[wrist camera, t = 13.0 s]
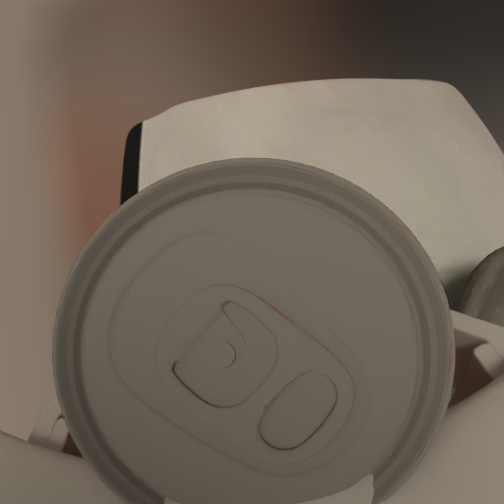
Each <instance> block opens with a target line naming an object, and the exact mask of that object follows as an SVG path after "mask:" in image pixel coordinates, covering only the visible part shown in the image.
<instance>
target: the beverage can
mask: <svg viewBox="0 0 504 504" xmlns="http://www.w3.org/2000/svg"><path fill="white" fill-rule="evenodd" d="M52 343H53V344H52V365H53V375H54V382H55V388H56V393H57V397H58V401H59V405H60V408H61V411H62V414H63V417H64V420H65V423H66V425H67V428H68V430H69V432H70V434H71V436H72V438H73V440H74V442H75V444H76V446H77V447H78V449H79V451H80V453H81V454H82V456H83V457H84V459H85V460H86V462H87V463H88V465H89V466H90V467H91V468H92V470H93V471H94V472H95V474H96V475H97V476H98V477H99V479H100V480H101V481H102V482H103V483H104V484H105V485H106V486H107V487H108V488H109V489H110V490H111V491H112V492H113V493H114V494H115V495H116V496H117V497H118V498H120V499H121V500H122V501H123V502H124V503H125V504H164V499H165V498H166V497H167V498H170V499H172V500H174V501H176V502H178V503H180V504H298V503H303V502H308V501H312V500H316V499H321V498H324V497H328V496H331V495H334V494H337V493H339V492H342V491H344V490H347V489H348V488H350V487H352V486H353V485H354V484H356V483H357V482H358V481H359V480H361V479H362V478H363V477H364V476H366V475H368V474H373V487H374V494H373V499H372V502H371V504H380V503H383V502H384V501H386V500H387V499H388V498H390V497H391V496H392V495H393V494H394V493H395V492H396V491H397V490H398V489H399V488H400V487H401V486H402V485H403V484H404V483H405V482H406V481H407V480H408V478H409V477H410V476H411V475H412V473H413V472H414V471H415V470H416V468H417V467H418V466H419V464H420V463H421V462H422V460H423V459H424V457H425V455H426V454H427V452H428V451H429V449H430V447H431V445H432V443H433V442H434V440H435V438H436V436H437V434H438V432H439V429H440V427H441V424H442V422H443V419H444V416H445V414H446V410H447V407H448V403H449V400H450V396H451V391H452V385H453V379H454V370H455V336H454V328H453V321H452V316H451V312H450V307H449V303H448V300H447V297H446V294H445V291H444V288H443V285H442V283H441V280H440V278H439V276H438V273H437V271H436V269H435V267H434V265H433V263H432V262H431V260H430V258H429V256H428V255H427V253H426V251H425V250H424V248H423V247H422V245H421V244H420V242H419V241H418V240H417V238H416V237H415V236H414V234H413V233H412V232H411V231H410V230H409V228H408V227H407V226H406V225H405V224H404V223H403V222H402V221H401V220H400V219H399V218H398V217H397V216H396V215H395V214H394V213H393V212H392V211H391V210H390V209H389V208H388V207H386V206H385V205H384V204H383V203H382V202H380V201H379V200H378V199H376V198H375V197H374V196H372V195H371V194H369V193H368V192H366V191H365V190H363V189H362V188H360V187H358V186H357V185H355V184H353V183H351V182H350V181H348V180H346V179H343V178H341V177H339V176H337V175H335V174H333V173H330V172H327V171H324V170H322V169H319V168H316V167H313V166H309V165H305V164H302V163H297V162H292V161H287V160H280V159H270V158H236V159H227V160H219V161H214V162H209V163H205V164H201V165H197V166H194V167H190V168H187V169H184V170H182V171H179V172H177V173H174V174H172V175H169V176H167V177H165V178H163V179H161V180H159V181H157V182H155V183H153V184H151V185H150V186H148V187H147V188H145V189H143V190H142V191H140V192H139V193H137V194H136V195H134V196H133V197H131V198H130V199H128V200H127V201H126V202H125V203H124V204H123V205H121V206H120V207H119V208H118V209H117V210H116V211H115V212H114V213H113V214H112V215H111V216H109V217H108V218H107V219H106V220H105V221H104V222H103V224H102V225H101V226H100V227H99V228H98V229H97V231H96V232H95V233H94V234H93V236H92V237H91V238H90V240H89V241H88V243H86V245H85V247H84V248H83V250H82V251H81V253H80V255H79V256H78V258H77V260H76V262H75V263H74V265H73V267H72V269H71V271H70V273H69V275H68V278H67V281H66V283H65V286H64V288H63V291H62V294H61V297H60V300H59V304H58V308H57V312H56V318H55V323H54V329H53V342H52Z"/></svg>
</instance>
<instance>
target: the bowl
mask: <svg viewBox="0 0 504 504" xmlns="http://www.w3.org/2000/svg"><path fill="white" fill-rule="evenodd" d="M450 310H454V311H457V312H460V313H463V314H466V315H469V316H472V317H475V318H478V319H481V320H484V321H487V322H490V323H493V324H496V325H499V326H502V327H504V247H502V248H499V249H497V250H495V251H494V252H492V253H491V254H489V255H488V256H487V257H486V258H485V259H483V260H482V261H481V262H480V263H479V264H478V265H477V266H476V268H475V269H474V270H473V271H472V272H471V273H470V275H469V276H468V277H467V278H466V280H465V281H464V283H463V284H462V286H461V287H460V289H459V290H458V292H457V294H456V296H455V298H454V299H453V301H452V304H451V306H450ZM455 390H456V389H454V388H452V391H451V396H450V400H451V398H452V396H453V394H454V392H455ZM450 400H449V402H450ZM448 404H449V403H448ZM447 408H449V407H447Z"/></svg>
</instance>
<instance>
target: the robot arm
mask: <svg viewBox="0 0 504 504" xmlns="http://www.w3.org/2000/svg"><path fill="white" fill-rule="evenodd" d="M450 312H451V316H452V321H453V328H454V336H455V370H454V379H453V385H452V388H454V389H456V390H455V392H454V394H453V396H452V398H451V400H450V402H449V404H448V407H449V408H447V410H446V414H445V416H444V419H443V422H442V424H441V427H440V429H439V432H438V434H437V436H436V438H435V440H434V442H433V443H432V445H431V447H430V449H429V451H428V452H427V454H426V455H425V457H424V459H423V460H422V462H421V463H420V464H419V466H418V467H417V468H416V470H415V471H414V472H413V473H412V475H411V476H410V477H409V478H408V480H407V481H406V482H405V483H404V484H403V485H402V486H401V487H400V488H399V489H398V490H397V491H396V492H395V493H394V494H393V495H392V496H391V497H390V498H388V499H387V500H386V501H384V502H383V503H380V504H504V327H502V326H499V325H496V324H493V323H490V322H487V321H484V320H481V319H478V318H475V317H472V316H469V315H466V314H463V313H460V312H457V311H454V310H450ZM373 494H374V487H373V474H368V475H366V476H364V477H363V478H362V479H361V480H359V481H358V482H357V483H356V484H354V485H353V486H352V487H350V488H348V489H347V490H344V491H342V492H339V493H337V494H334V495H331V496H328V497H324V498H321V499H316V500H312V501H308V502H303V503H298V504H371V502H372V499H373ZM0 504H125V503H124V502H123V501H122V500H121V499H120V498H118V497H117V496H116V495H115V494H114V493H113V492H112V491H111V490H110V489H109V488H108V487H107V486H106V485H105V484H104V483H103V482H102V481H101V480H100V479H99V477H98V476H97V475H96V474H95V472H94V471H93V470H92V468H91V467H90V466H89V465H88V463H87V462H86V460H85V459H84V457H83V456H82V454H81V453H80V451H79V449H78V447H77V446H76V444H75V442H74V440H73V438H72V436H71V434H70V432H69V430H68V428H67V425H66V423H65V420H64V417H63V414H62V411H61V408H60V405H59V401H58V399H57V400H55V401H54V402H53V403H52V404H51V405H49V406H48V407H47V408H46V409H45V410H43V411H42V412H41V413H40V415H39V417H38V419H37V421H36V423H35V425H34V428H33V430H32V432H31V434H30V437H29V439H28V441H25V440H22V439H20V438H17V437H15V436H12V435H10V434H8V433H5V432H3V431H1V430H0ZM164 504H180V503H178V502H176V501H174V500H172V499H170V498H167V497H166V498H165V499H164Z"/></svg>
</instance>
